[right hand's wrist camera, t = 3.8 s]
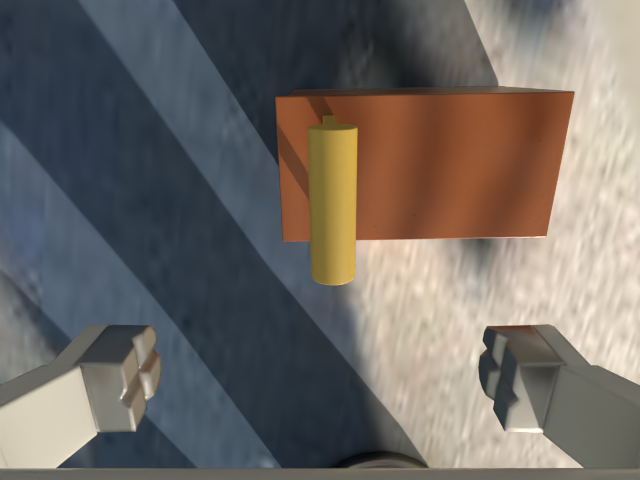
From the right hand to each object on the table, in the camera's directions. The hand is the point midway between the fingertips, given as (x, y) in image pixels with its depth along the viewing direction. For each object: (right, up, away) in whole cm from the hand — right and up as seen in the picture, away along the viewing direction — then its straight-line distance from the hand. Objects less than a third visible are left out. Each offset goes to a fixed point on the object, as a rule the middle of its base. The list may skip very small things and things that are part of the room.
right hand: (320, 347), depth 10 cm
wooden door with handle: (+6, +7, +17) cm, 19 cm away
